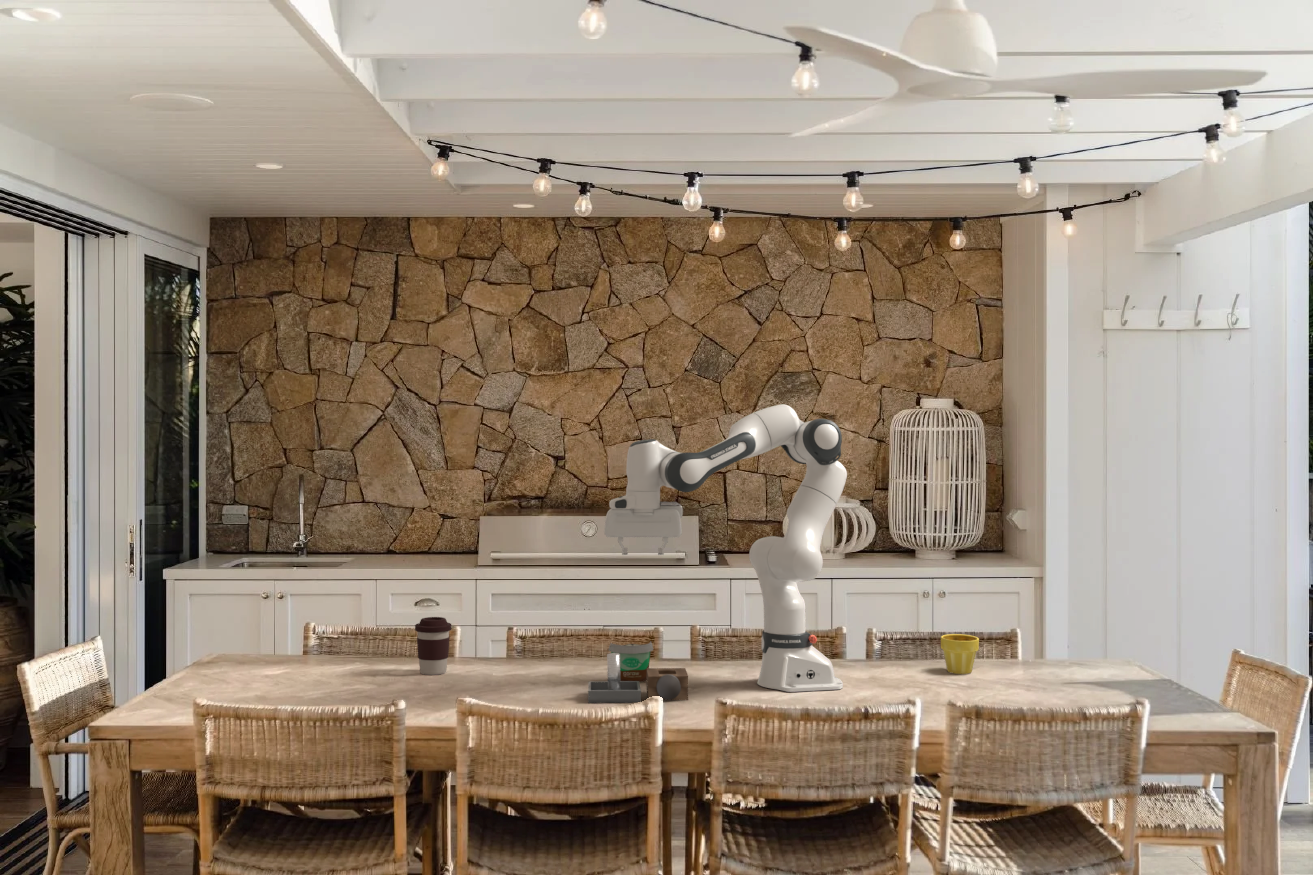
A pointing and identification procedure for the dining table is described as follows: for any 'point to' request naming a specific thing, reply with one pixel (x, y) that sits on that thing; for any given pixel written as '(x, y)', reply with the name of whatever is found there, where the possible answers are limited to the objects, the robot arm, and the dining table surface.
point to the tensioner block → (667, 683)
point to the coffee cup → (433, 645)
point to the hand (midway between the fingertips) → (642, 554)
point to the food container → (633, 660)
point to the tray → (614, 692)
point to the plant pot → (959, 652)
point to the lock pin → (613, 671)
